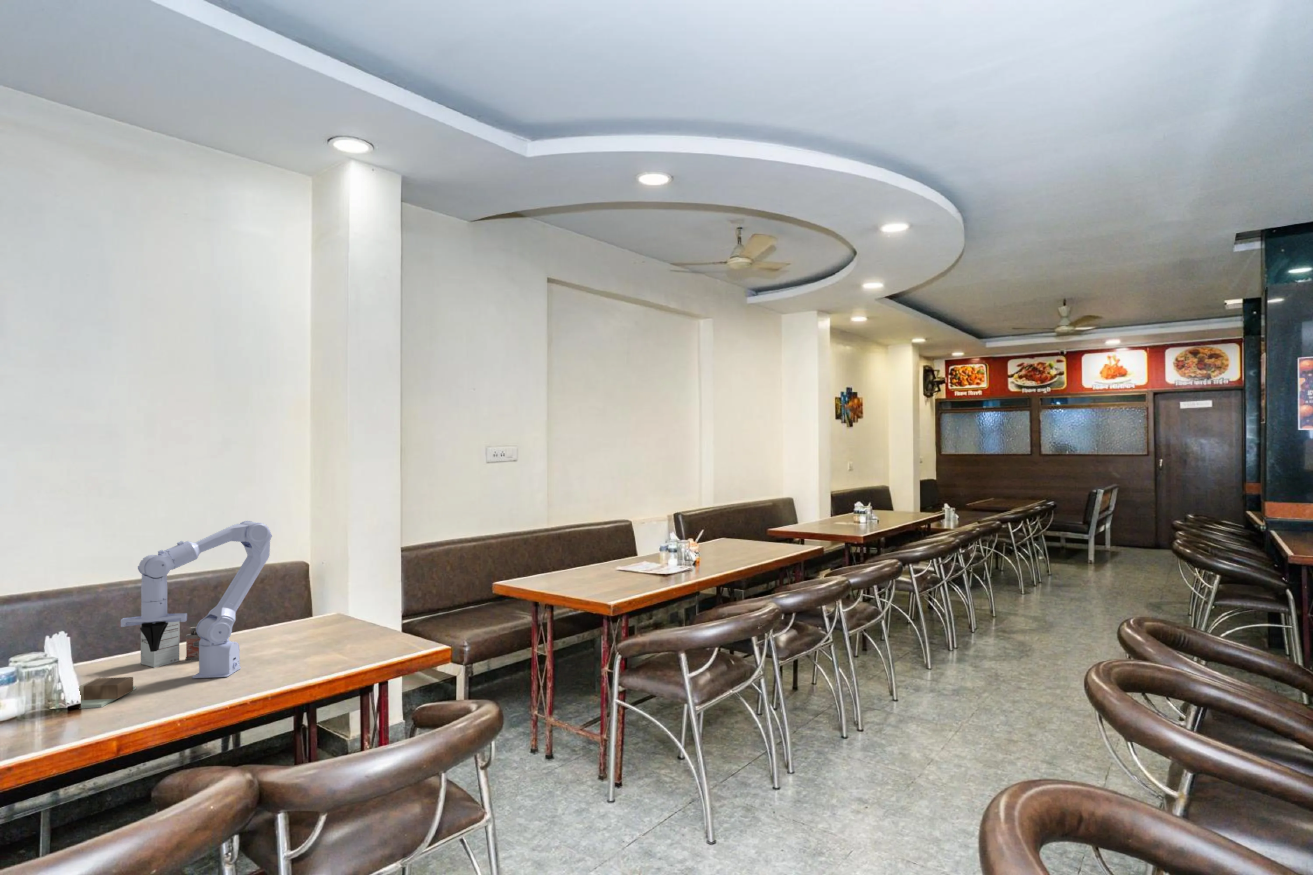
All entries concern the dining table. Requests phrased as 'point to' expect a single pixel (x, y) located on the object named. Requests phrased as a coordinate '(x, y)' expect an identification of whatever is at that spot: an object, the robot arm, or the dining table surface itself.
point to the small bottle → (192, 645)
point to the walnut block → (106, 688)
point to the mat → (97, 702)
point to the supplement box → (162, 648)
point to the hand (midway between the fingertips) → (154, 650)
